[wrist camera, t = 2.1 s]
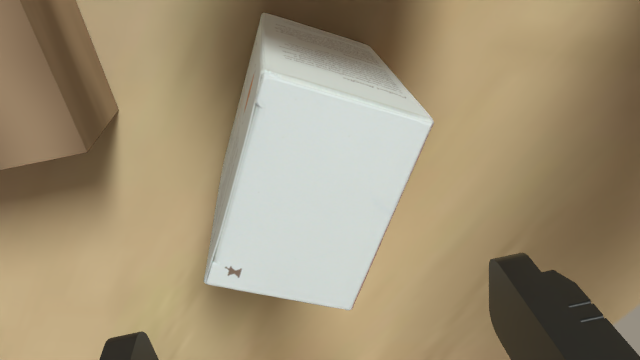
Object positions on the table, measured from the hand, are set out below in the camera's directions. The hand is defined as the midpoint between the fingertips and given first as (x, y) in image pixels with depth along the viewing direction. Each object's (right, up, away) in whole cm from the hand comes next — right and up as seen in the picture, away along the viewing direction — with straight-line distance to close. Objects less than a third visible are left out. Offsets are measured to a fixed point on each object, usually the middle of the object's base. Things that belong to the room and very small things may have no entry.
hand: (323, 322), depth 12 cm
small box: (-1, +7, +14) cm, 16 cm away
